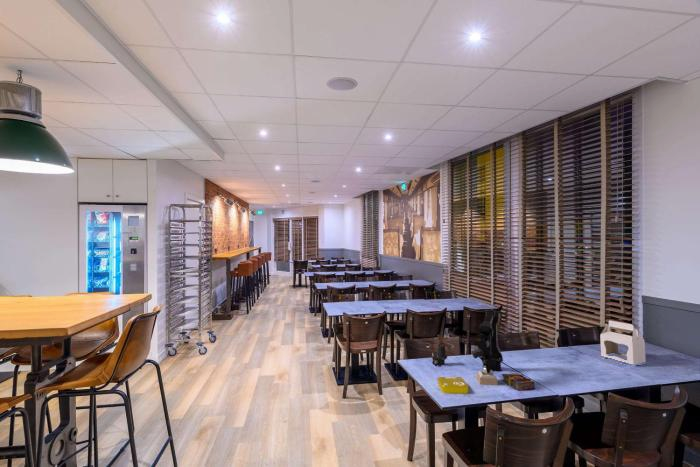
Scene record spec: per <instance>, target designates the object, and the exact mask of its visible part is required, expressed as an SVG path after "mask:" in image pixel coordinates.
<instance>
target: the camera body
mask: <svg viewBox="0 0 700 467" xmlns="http://www.w3.org/2000/svg"><path fill="white" fill-rule="evenodd" d="M476 381H477V382H478V383H479V385H481V386H483V385H485V386H498V377H497V376H496V375H495V374H494V372H493V371H492V370H491V375H483V370H479V371H478V372H476Z"/></svg>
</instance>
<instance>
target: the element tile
mask: <svg viewBox="0 0 700 467" xmlns="http://www.w3.org/2000/svg"><path fill="white" fill-rule="evenodd" d="M437 385H438V387H439V389H440V392H441V393H443V394H448V395H449V394H458V395H460V394H462V395H463V394H464V395H466V394H469V385H468V384H467V382H466V381H465V380H464V379H463V377H458V376H453V377H452V376H438V377H437Z"/></svg>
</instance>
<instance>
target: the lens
mask: <svg viewBox="0 0 700 467" xmlns="http://www.w3.org/2000/svg"><path fill="white" fill-rule="evenodd" d="M482 371H483V375H491V371H492V370H490V372H489V373H487V370H486V365H485V364H484V365H483V364H482Z"/></svg>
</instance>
